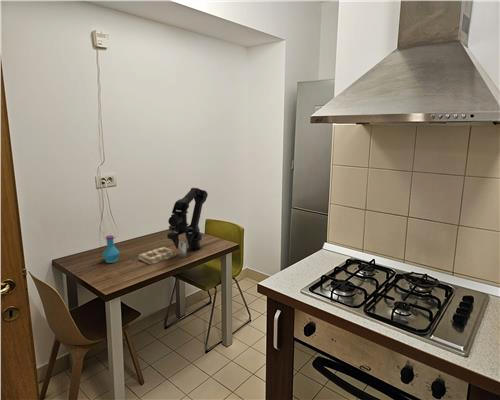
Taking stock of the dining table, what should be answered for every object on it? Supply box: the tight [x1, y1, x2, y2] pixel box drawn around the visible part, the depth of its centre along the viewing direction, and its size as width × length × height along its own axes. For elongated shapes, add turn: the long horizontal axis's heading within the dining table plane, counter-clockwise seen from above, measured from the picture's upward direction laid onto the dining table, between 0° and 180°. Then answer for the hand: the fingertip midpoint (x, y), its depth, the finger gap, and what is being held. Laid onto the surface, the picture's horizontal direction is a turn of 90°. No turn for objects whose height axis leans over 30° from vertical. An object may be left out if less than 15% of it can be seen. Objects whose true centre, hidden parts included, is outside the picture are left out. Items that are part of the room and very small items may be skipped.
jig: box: [138, 246, 177, 265], centre depth 208 cm, size 18×12×3 cm, turn 141°
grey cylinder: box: [178, 240, 188, 258], centre depth 210 cm, size 4×4×9 cm
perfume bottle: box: [102, 234, 120, 263], centre depth 202 cm, size 9×9×15 cm
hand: (183, 246), depth 209 cm, fingers open, 9 cm apart
